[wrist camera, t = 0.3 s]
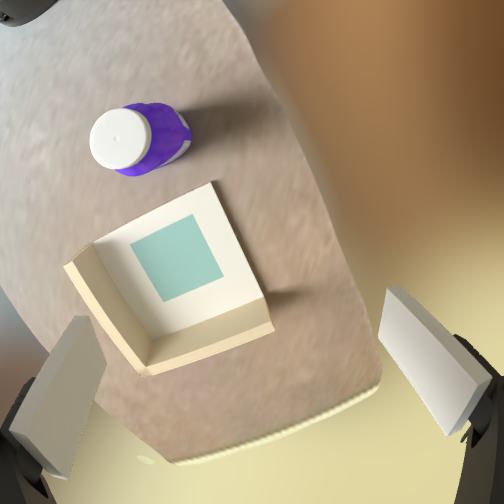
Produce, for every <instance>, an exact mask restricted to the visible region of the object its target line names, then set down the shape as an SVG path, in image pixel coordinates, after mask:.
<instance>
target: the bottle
mask: <svg viewBox="0 0 504 504" xmlns="http://www.w3.org/2000/svg"><path fill="white" fill-rule="evenodd" d="M191 141H192V133H191V131H190V127H189V125H188V124H187V122H186V121H185V120H184V118H183V117H182V116H181V115H180V114H179V113H178V112H177V111H175V110H174V109H173V108H172V107H170V106H168V105H165V104H162V103H150V104H143V103H137V104H131V105H128V106H125V107H123V108H116V109H112V110H110V111H108V112H106V113H105V114H103V115H102V116H101V117H100V118H99V119H98V120H97V121H96V123H95V124H94V126H93V128H92V131H91V134H90V148H91V152H92V154H93V156H94V158H95V159H96V160H97V161H98V163H100V164H101V165H102V166H104V167H106V168H110V169H114V170H116V171H117V172H119V173H121V174H124V175H127V176H139V175H143V174H145V173H148V172H150V171H152V170H154V169H157V168H160V167H163V166H165V165H167V164H169V163H171V162H172V161H174V160H176V159H177V158H178V157H180V156H181V155H182V154H184V153H185V152H186V151H187V149H188V148H189V146H190V144H191Z"/></svg>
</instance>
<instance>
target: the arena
mask: <svg viewBox="0 0 504 504" xmlns="http://www.w3.org/2000/svg"><path fill="white" fill-rule="evenodd" d="M63 267H64V269H65V270H66V272H67V274H68V275H69V277H70V279H71V280H72V282H73V284H74V285H75V287H76V288H77V290H78V291H79V293H80V295H81V296H82V298H83V299H84V301H85V302H86V304H87V305H88V307H89V308H90V310H91V311H92V313H93V314H94V315H95V317H96V318H97V320H98V321H99V323H100V324H101V325H102V327H103V328H104V330H105V331H106V332H107V334H108V335H109V336H110V338H111V339H112V340H113V342H114V343H115V344H116V346H117V347H118V348H119V350H120V351H121V352H122V353H123V355H124V356H125V357H126V358H127V360H128V361H129V362H130V363H131V365H132V366H133V367H134V368H135V369H136V371H137V372H138V373H139V374H140V375H141V377H142V378H145V377H149V376H152V375H155V374H158V373H161V372H165V371H168V370H171V369H174V368H177V367H180V366H183V365H186V364H189V363H192V362H195V361H198V360H200V359H203V358H206V357H209V356H212V355H214V354H217V353H220V352H223V351H225V350H228V349H231V348H233V347H236V346H239V345H241V344H244V343H246V342H249V341H251V340H254V339H257V338H259V337H262V336H264V335H267V334H269V333H271V332H274V331H275V327H274V324H273V321H272V317H271V314H270V310H269V307H268V304H267V301H266V299H265V297H264V295H263V292H262V290H261V288H260V286H259V284H258V282H257V280H256V278H255V276H254V273H253V271H252V269H251V267H250V265H249V263H248V261H247V258H246V256H245V254H244V252H243V250H242V248H241V246H240V244H239V241H238V239H237V237H236V235H235V233H234V231H233V229H232V226H231V224H230V222H229V220H228V218H227V216H226V214H225V211H224V209H223V207H222V205H221V203H220V201H219V198H218V196H217V194H216V192H215V190H214V188H213V186H212V183H211V182H208V183H206V184H204V185H202V186H200V187H198V188H196V189H193V190H191V191H189V192H187V193H185V194H183V195H181V196H179V197H177V198H175V199H173V200H171V201H169V202H167V203H165V204H163V205H161V206H159V207H157V208H155V209H153V210H151V211H149V212H147V213H145V214H143V215H141V216H139V217H137V218H135V219H133V220H132V221H130V222H128V223H126V224H124V225H122V226H120V227H119V228H117V229H115V230H113V231H111V232H109V233H108V234H106V235H104V236H102V237H100V238H99V239H97V240H95V241H93V242H92V243H90V244H88V245H86V246H85V247H84V248H83V249H82V250H81V251H79V252H78V253H77V254H76V255H75V256H74V257H73V258H72V259H71V260H69V261H68V262H67V263H66V264H65V265H64V266H63Z"/></svg>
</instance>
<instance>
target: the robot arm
mask: <svg viewBox="0 0 504 504" xmlns="http://www.w3.org/2000/svg"><path fill="white" fill-rule="evenodd" d="M55 1H56V0H0V23H2V24H4V25H6V26H10V27H15V26H20V25H23V24H25V23H28V22H30V21H31V20H33V19H35V18H36V17H38V16H39V15H41V14H42V13H43V12H44V11H46V10H47V9H48V8H49V7H50V6H51V5H52V4H53V3H54V2H55ZM378 338H379V340H380V341H381V342H382V344H383V345H384V347H385V348H386V349H387V351H388V352H389V353H390V355H391V356H392V358H393V359H394V360H395V362H396V363H397V365H398V366H399V367H400V369H401V370H402V372H403V373H404V374H405V376H406V377H407V379H408V380H409V382H410V383H411V384H412V386H413V387H414V389H415V390H416V392H417V393H418V395H419V396H420V398H421V399H422V401H423V402H424V404H425V405H426V407H427V408H428V410H429V411H430V413H431V414H432V415H433V417H434V418H435V420H436V422H437V423H438V425H439V426H440V428H441V429H442V431H443V432H444V434H445V436H446V437H448V436H450V435H452V434H453V433H455V432H457V431H459V430H461V429H462V428H463V426H464V425H465V423H466V422H467V420H469V421H470V422H471V426H470V427H469V429H468V430H467V431H466V433H465V434H464V436H463V437H462V439H461V443H462V442H463V441H464V440H465V438H466V437H467V436H468V438H467V442H466V443H467V445H466V452H465V457H464V463H463V468H462V473H461V478H460V482H459V486H458V490H457V494H456V499H455V502H454V504H504V376H501V375H500V374H499V373H498V372H497V371H496V370H495V369H494V368H493V367H492V366H491V365H490V364H489V363H488V361H486V359H485V358H484V357H483V356H482V355H479V352H478V351H477V350H476V349H474V348H473V346H472V345H471V344H470V343H469V342H468V341H467V340H466V339H464V338H462V337H460V336H458V335H457V334H454V335H452V334H451V333H450V332H449V331H448V330H447V329H446V328H445V327H444V326H443V325H442V324H441V323H439V321H437V319H436V318H434V317H433V316H432V315H431V314H430V313H429V312H428V311H427V310H426V309H425V308H424V307H423V306H422V305H421V304H420V303H419V302H418V301H417V300H415V299H414V298H413V297H412V296H411V295H410V294H409V293H408V292H407V291H406V290H405V289H403V288H402V287H401V286H396V287H390V288H387V290H386V296H385V302H384V308H383V314H382V319H381V324H380V328H379V333H378ZM106 366H107V362H106V360H105V357H104V355H103V352H102V350H101V347H100V345H99V342H98V339H97V337H96V334H95V331H94V329H93V326H92V323H91V320H90V317H89V316H75V317H74V318H73V319H72V321H71V322H70V324H69V325H68V327H67V328H66V330H65V332H64V333H63V335H62V336H61V338H60V339H59V341H58V342H57V344H56V346H55V347H54V349H53V350H52V352H51V354H50V355H49V357H48V358H47V360H46V362H45V363H44V365H43V367H42V368H41V370H40V372H39V374H38V375H37V377H36V378H34V377H32V378H31V379H30V380H29V381H28V382H27V383H26V384H24V386H23V387H22V389H21V391H20V393H19V394H18V395H19V396H18V397H17V398H16V400H15V404H13V405H12V407H11V409H10V411H9V413H8V415H7V417H6V419H5V420H4V422H3V424H2V426H1V428H0V504H56V501H55V499H54V497H53V495H52V493H51V491H50V489H49V487H48V484H47V482H46V480H45V478H44V477H43V475H42V474H41V472H42V469H43V468H44V469H45V470H46V471H47V472H48V473H49V474H50V475H51V476H54V477H58V478H61V479H65V480H68V479H69V476H70V472H71V468H72V465H73V461H74V458H75V454H76V451H77V448H78V445H79V442H80V439H81V435H82V432H83V429H84V426H85V423H86V420H87V417H88V414H89V411H90V409H91V406H92V403H93V400H94V397H95V395H96V392H97V389H98V387H99V384H100V381H101V379H102V376H103V373H104V371H105V368H106Z"/></svg>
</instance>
